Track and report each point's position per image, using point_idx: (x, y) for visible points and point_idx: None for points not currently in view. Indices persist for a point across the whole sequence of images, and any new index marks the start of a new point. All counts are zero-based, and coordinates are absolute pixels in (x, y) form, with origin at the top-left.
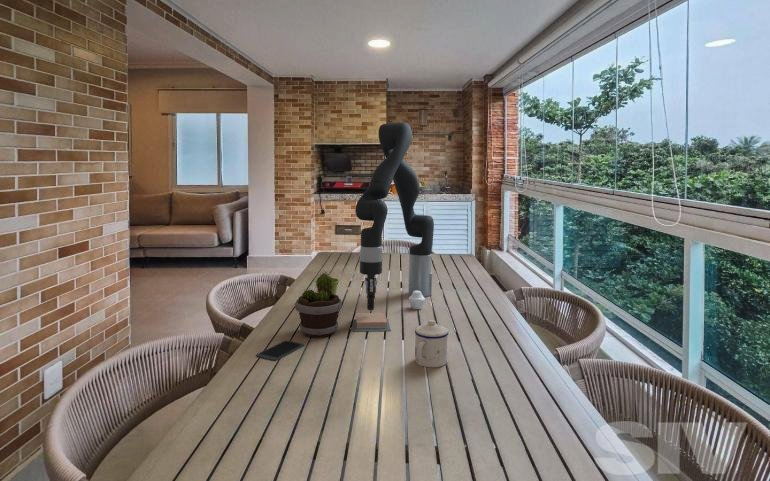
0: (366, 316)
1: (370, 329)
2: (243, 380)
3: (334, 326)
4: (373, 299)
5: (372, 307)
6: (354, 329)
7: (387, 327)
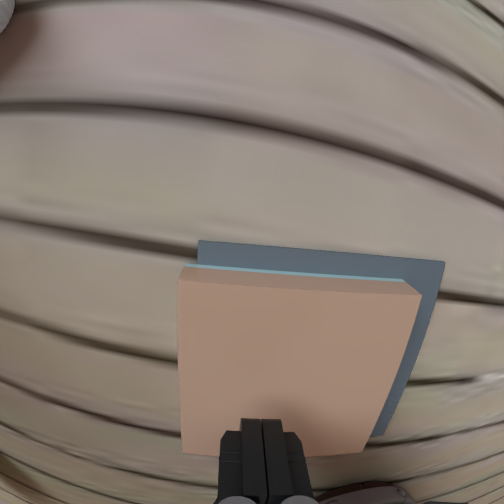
0: (258, 415)
1: None
2: (497, 500)
3: (407, 500)
4: (291, 496)
5: (301, 443)
6: None
7: (393, 274)
